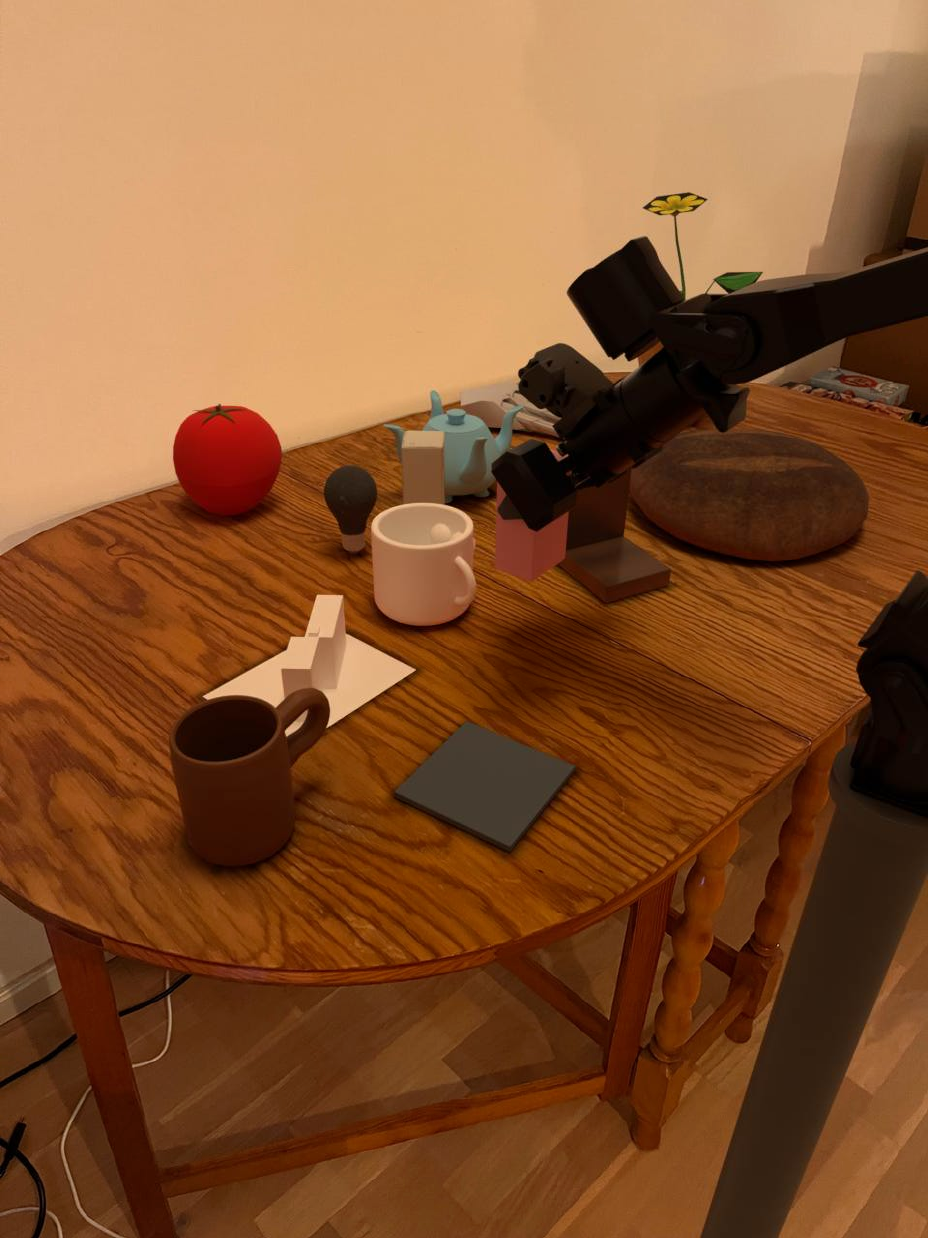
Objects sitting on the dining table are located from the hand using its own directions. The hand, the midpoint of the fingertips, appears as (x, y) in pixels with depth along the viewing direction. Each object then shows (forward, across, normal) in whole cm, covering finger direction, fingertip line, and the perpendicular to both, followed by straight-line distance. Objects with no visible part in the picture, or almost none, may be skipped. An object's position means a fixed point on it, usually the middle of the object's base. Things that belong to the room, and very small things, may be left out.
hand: (520, 503), depth 80 cm
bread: (+5, -39, +14) cm, 42 cm away
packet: (+3, 0, +5) cm, 6 cm away
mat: (+2, +19, +17) cm, 25 cm away
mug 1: (+10, +31, +10) cm, 34 cm away
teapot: (+27, -22, -8) cm, 36 cm away
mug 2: (+16, +2, +4) cm, 16 cm away
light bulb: (+26, -2, -7) cm, 27 cm away
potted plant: (+20, -62, -1) cm, 65 cm away
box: (+22, -8, -3) cm, 23 cm away
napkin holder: (+16, +18, +3) cm, 24 cm away
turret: (+31, -46, -12) cm, 57 cm away
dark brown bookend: (+8, -16, +11) cm, 21 cm away
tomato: (+39, -2, -20) cm, 44 cm away
